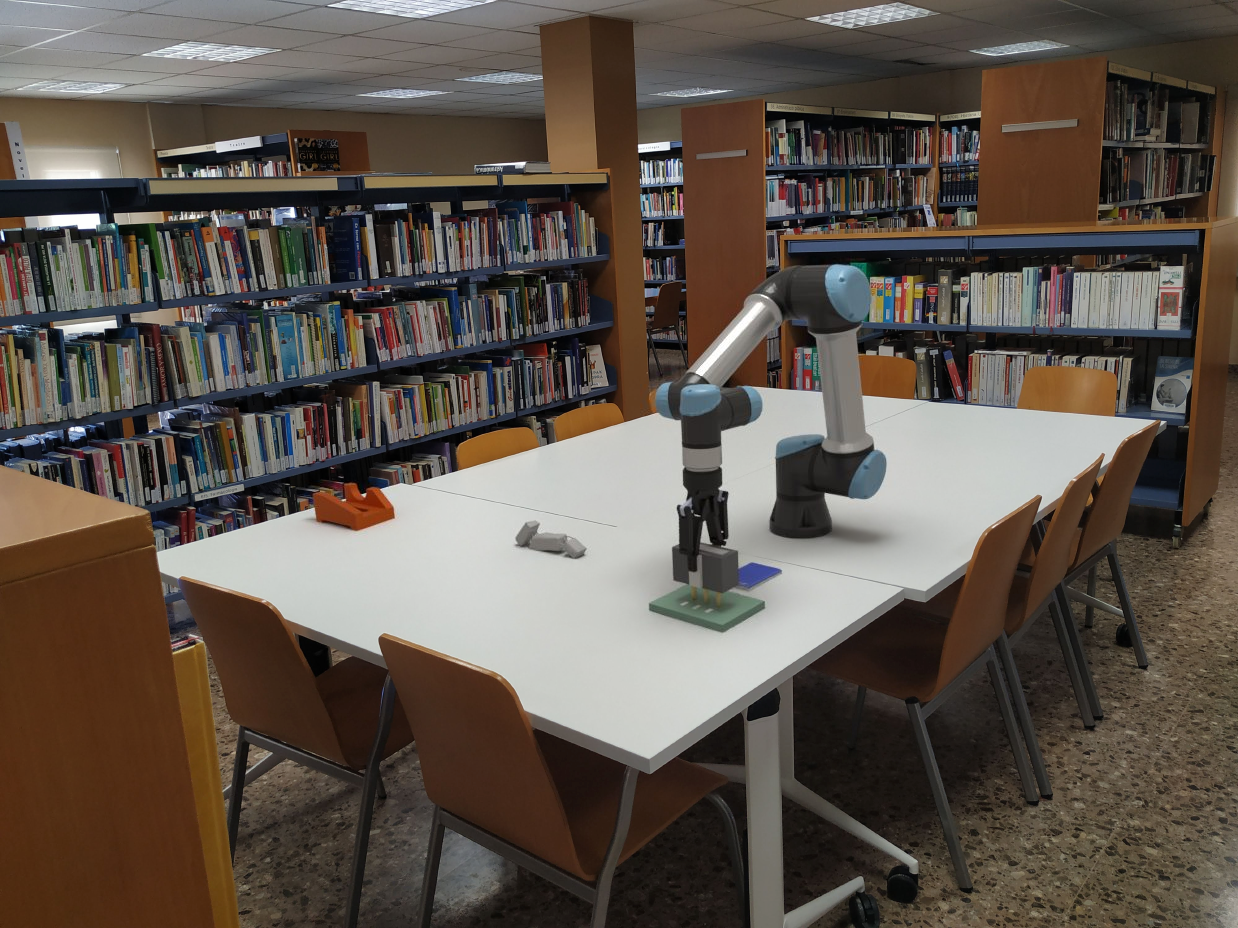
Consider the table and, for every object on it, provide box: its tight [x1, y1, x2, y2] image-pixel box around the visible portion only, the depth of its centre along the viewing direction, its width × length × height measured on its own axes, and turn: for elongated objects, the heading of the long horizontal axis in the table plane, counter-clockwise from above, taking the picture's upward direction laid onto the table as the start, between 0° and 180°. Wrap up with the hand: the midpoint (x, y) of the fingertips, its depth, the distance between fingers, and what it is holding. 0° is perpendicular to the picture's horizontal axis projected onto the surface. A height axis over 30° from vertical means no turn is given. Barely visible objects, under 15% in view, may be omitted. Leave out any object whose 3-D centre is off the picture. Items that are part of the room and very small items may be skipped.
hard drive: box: [733, 561, 783, 592], centre depth 199 cm, size 2×8×12 cm
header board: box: [648, 584, 766, 633], centre depth 183 cm, size 14×18×6 cm
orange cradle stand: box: [312, 482, 396, 532], centre depth 256 cm, size 18×13×8 cm
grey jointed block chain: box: [514, 520, 588, 559], centre depth 223 cm, size 20×4×7 cm, turn 52°
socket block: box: [671, 542, 740, 594], centre depth 182 cm, size 5×12×7 cm, turn 48°
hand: (705, 581), depth 183 cm, fingers closed on socket block, 5 cm apart
